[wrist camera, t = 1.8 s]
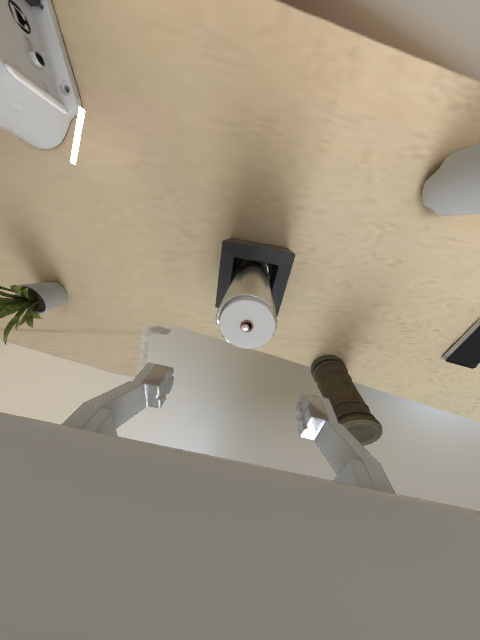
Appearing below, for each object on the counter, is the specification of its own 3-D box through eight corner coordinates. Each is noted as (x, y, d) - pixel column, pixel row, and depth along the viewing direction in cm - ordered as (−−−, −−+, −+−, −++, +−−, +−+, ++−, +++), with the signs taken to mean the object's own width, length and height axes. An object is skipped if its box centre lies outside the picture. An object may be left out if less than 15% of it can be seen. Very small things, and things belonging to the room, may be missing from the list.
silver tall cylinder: (241, 253, 39) (216, 290, 17) (271, 259, 39) (286, 304, 17) (236, 283, 42) (210, 347, 20) (264, 288, 42) (269, 359, 20)
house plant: (31, 245, 43) (-87, 254, 28) (88, 281, 45) (8, 306, 31) (25, 291, 49) (-74, 319, 34) (76, 320, 51) (4, 357, 37)
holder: (230, 237, 38) (222, 240, 30) (288, 248, 38) (295, 254, 30) (223, 292, 43) (215, 307, 35) (273, 301, 43) (276, 319, 35)
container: (322, 350, 48) (353, 412, 32) (352, 362, 49) (396, 429, 33) (303, 373, 52) (323, 438, 36) (331, 384, 53) (362, 453, 37)
